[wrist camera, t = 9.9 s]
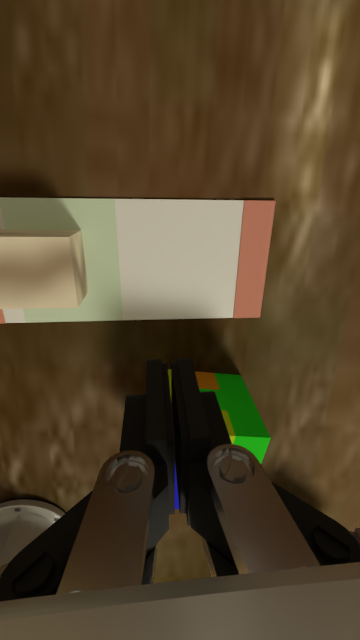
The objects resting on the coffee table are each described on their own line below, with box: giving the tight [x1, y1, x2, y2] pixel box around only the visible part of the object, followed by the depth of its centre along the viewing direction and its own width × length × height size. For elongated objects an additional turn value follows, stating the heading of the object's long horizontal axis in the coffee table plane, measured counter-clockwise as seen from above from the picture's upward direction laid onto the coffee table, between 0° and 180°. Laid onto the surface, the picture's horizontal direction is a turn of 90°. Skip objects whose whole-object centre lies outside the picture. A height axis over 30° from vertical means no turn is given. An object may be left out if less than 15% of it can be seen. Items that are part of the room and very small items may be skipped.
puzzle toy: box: [168, 369, 270, 509], centre depth 32 cm, size 10×10×10 cm
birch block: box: [0, 230, 88, 309], centre depth 26 cm, size 6×8×4 cm
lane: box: [0, 197, 244, 323], centre depth 29 cm, size 12×24×1 cm, turn 89°
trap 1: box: [233, 200, 276, 318], centre depth 30 cm, size 12×3×1 cm, turn 179°
